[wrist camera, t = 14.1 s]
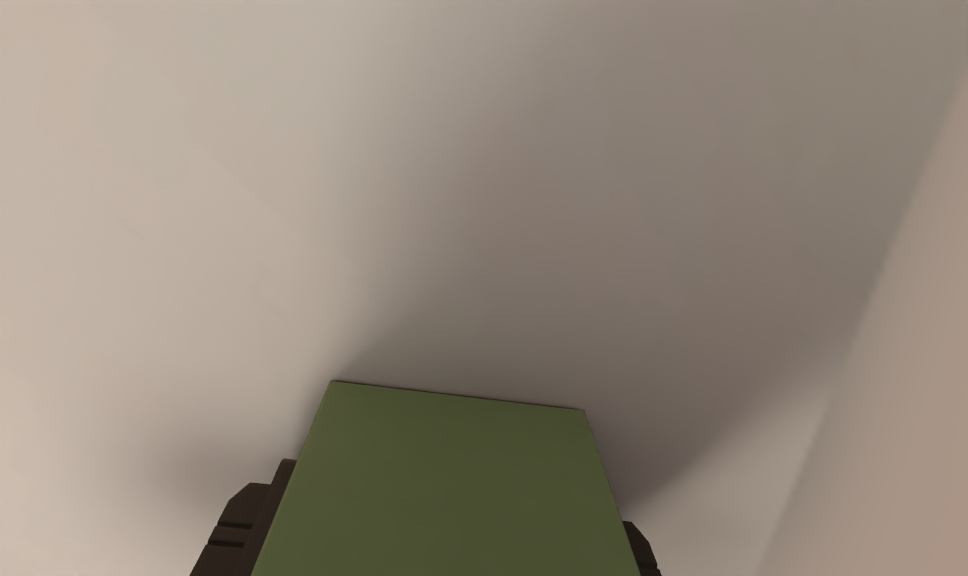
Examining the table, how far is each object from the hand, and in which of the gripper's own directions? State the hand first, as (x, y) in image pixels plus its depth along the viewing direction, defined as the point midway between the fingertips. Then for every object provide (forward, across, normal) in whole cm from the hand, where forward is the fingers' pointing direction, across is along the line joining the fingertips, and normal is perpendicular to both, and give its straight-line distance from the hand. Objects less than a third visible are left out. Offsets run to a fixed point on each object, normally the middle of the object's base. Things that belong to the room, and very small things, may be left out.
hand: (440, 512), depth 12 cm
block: (0, 0, 0) cm, 0 cm away
